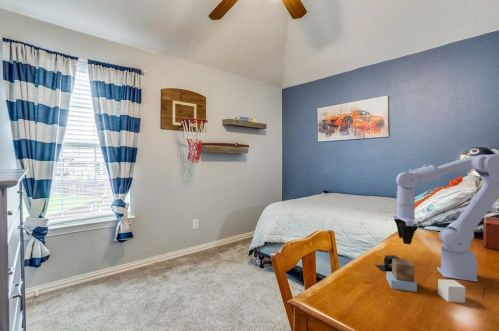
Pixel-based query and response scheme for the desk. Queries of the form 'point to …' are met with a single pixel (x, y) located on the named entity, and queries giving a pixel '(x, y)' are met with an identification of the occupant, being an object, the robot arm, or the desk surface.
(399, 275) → the walnut cube
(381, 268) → the black rectangular box
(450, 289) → the cream cube
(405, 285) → the blue slab
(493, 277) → the desk surface
